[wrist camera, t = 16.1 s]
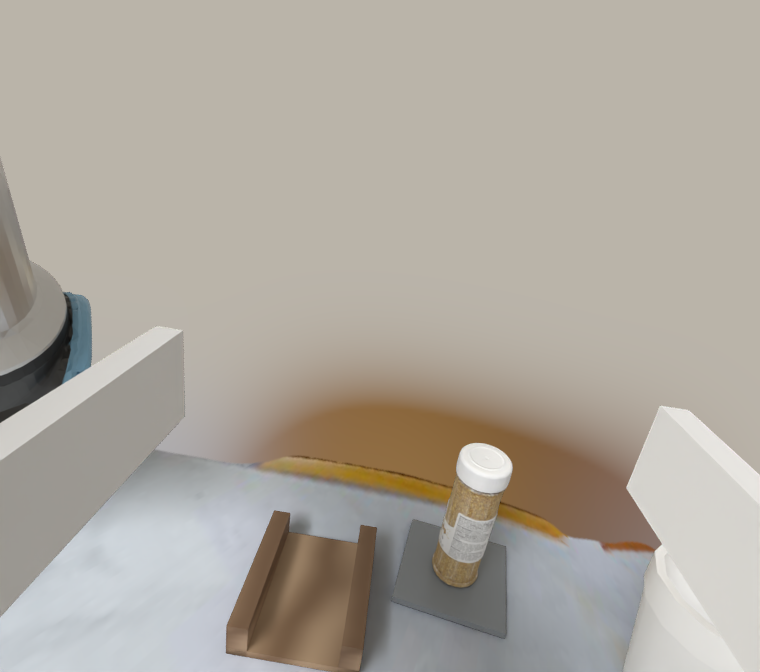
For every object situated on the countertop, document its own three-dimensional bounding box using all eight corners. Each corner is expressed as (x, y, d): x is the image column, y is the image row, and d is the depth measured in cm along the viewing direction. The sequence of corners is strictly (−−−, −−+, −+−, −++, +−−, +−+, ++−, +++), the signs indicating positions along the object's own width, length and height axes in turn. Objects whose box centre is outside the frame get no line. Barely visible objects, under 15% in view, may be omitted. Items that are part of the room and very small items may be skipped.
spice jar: (435, 543, 47) (463, 435, 41) (479, 558, 46) (514, 449, 40) (426, 580, 43) (456, 465, 37) (475, 598, 42) (513, 482, 36)
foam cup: (705, 676, 38) (775, 560, 34) (764, 819, 30) (868, 690, 25) (587, 639, 40) (638, 524, 35) (611, 764, 31) (682, 634, 27)
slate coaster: (391, 601, 41) (392, 596, 41) (411, 523, 50) (412, 518, 50) (504, 638, 39) (506, 634, 39) (504, 550, 48) (505, 546, 48)
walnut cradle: (225, 653, 35) (226, 625, 34) (272, 533, 46) (274, 510, 45) (358, 676, 35) (363, 649, 33) (372, 550, 46) (376, 527, 45)
